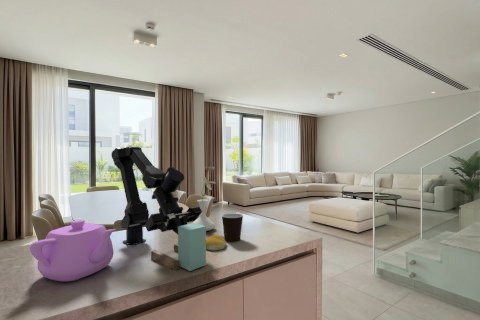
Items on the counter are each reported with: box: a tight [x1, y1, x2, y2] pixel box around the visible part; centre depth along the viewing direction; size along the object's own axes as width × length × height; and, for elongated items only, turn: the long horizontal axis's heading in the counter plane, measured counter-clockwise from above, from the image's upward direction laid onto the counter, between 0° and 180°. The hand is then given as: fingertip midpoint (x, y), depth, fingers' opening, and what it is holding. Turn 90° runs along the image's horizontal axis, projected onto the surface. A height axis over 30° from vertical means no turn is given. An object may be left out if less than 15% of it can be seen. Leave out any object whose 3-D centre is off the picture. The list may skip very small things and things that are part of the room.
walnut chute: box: [150, 242, 184, 271], centre depth 86 cm, size 14×10×2 cm
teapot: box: [29, 219, 116, 282], centre depth 74 cm, size 23×21×15 cm
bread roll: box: [206, 234, 227, 251], centre depth 98 cm, size 8×9×4 cm
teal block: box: [177, 222, 207, 272], centre depth 80 cm, size 6×6×12 cm
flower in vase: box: [192, 175, 216, 232], centre depth 122 cm, size 13×11×25 cm
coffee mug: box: [221, 212, 244, 243], centre depth 108 cm, size 12×9×10 cm
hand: (185, 239), depth 82 cm, fingers closed, pressing on teal block
